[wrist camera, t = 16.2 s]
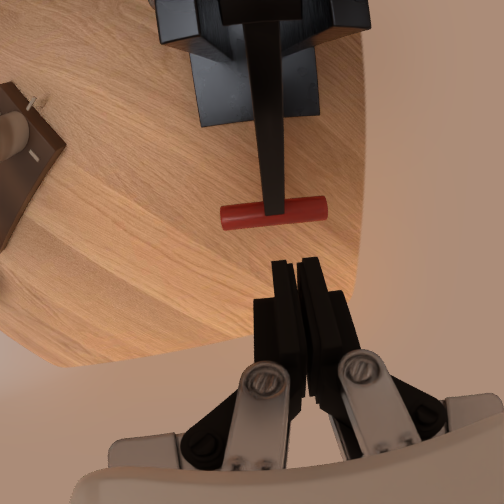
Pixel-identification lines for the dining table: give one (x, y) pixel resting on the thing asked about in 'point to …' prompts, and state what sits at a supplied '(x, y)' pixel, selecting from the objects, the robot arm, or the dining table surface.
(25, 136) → the dial
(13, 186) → the dial panel
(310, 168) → the dining table surface
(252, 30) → the lever
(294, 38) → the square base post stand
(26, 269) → the dining table surface
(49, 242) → the dining table surface
